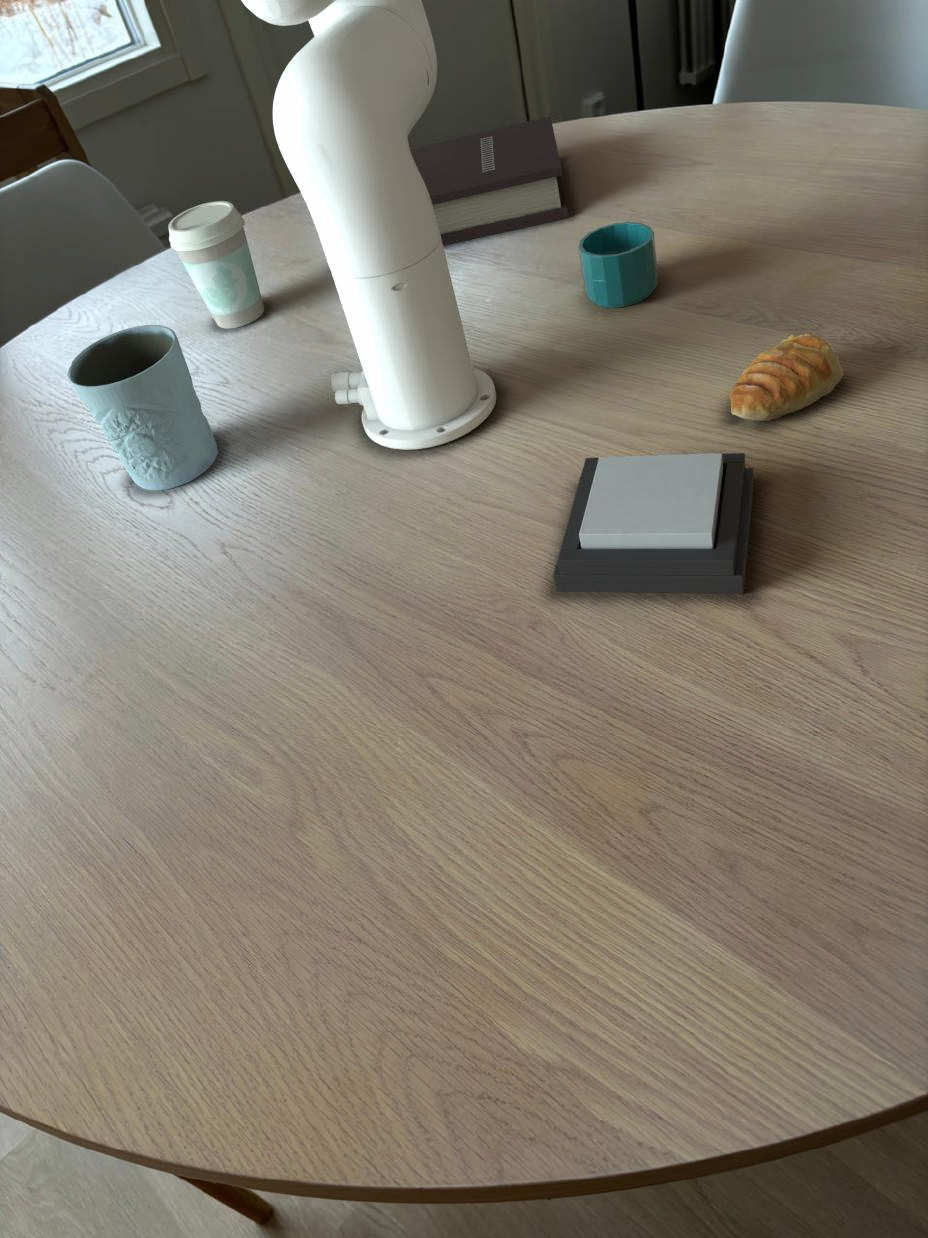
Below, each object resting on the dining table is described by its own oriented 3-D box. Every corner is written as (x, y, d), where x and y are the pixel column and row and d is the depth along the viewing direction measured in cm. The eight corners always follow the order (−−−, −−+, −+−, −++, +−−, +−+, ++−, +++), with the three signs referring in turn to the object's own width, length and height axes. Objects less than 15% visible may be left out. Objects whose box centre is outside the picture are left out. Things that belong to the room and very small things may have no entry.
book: (556, 158, 132) (549, 110, 128) (569, 217, 118) (561, 166, 114) (350, 205, 136) (337, 161, 132) (338, 268, 122) (323, 220, 118)
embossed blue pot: (192, 423, 102) (141, 315, 94) (247, 451, 96) (197, 337, 88) (107, 477, 98) (46, 369, 90) (159, 510, 92) (99, 396, 84)
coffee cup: (192, 335, 117) (148, 235, 109) (229, 298, 123) (190, 200, 115) (252, 335, 114) (211, 232, 106) (288, 297, 119) (252, 196, 111)
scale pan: (581, 551, 71) (578, 534, 70) (601, 473, 77) (599, 456, 76) (713, 551, 68) (712, 533, 67) (723, 470, 74) (722, 452, 73)
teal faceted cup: (581, 312, 101) (573, 259, 97) (592, 278, 106) (585, 226, 102) (653, 307, 99) (648, 252, 95) (662, 271, 103) (657, 218, 100)
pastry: (774, 438, 80) (773, 396, 77) (708, 413, 84) (705, 372, 82) (849, 382, 83) (851, 340, 80) (782, 360, 87) (781, 320, 85)
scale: (555, 591, 72) (549, 560, 70) (583, 488, 80) (578, 457, 78) (743, 594, 68) (742, 561, 66) (753, 484, 76) (752, 451, 74)
